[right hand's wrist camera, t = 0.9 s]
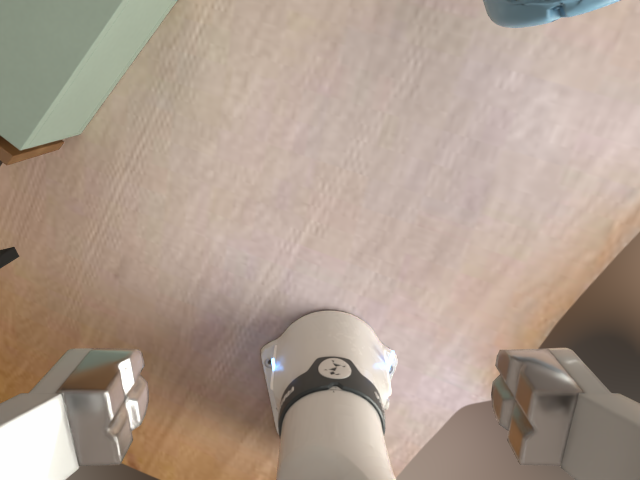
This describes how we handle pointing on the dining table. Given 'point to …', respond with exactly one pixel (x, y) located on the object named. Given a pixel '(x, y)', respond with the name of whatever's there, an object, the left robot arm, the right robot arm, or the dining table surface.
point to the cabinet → (66, 61)
